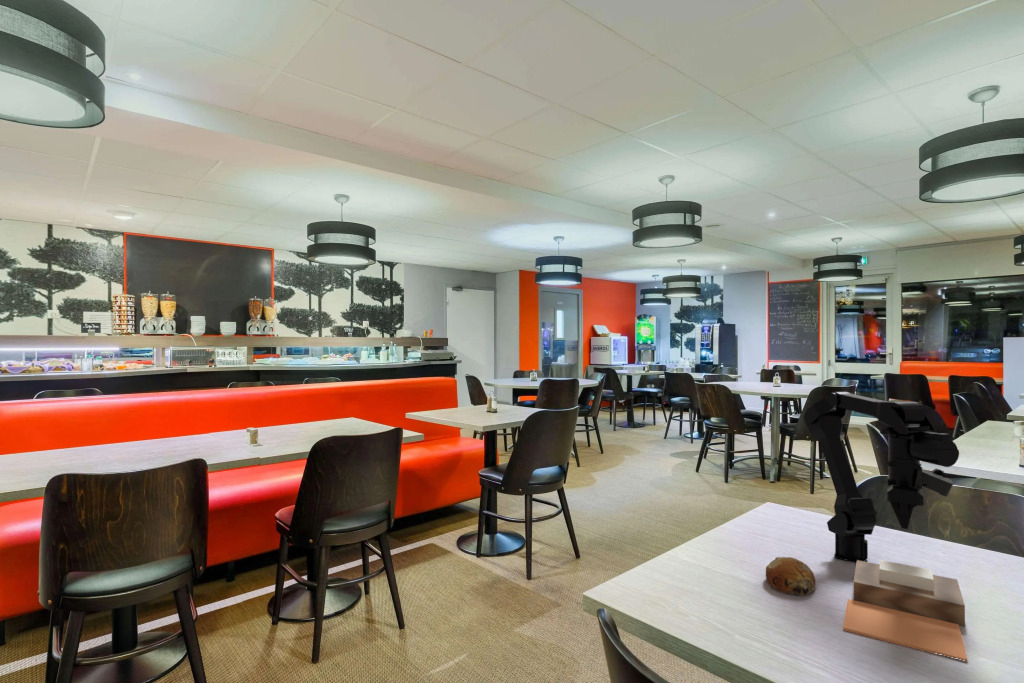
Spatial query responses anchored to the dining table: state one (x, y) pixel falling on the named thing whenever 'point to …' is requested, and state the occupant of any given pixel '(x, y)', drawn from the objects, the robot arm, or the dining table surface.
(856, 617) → the mat
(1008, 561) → the dining table surface
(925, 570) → the white rectangular block
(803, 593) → the bread roll
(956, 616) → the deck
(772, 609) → the dining table surface
